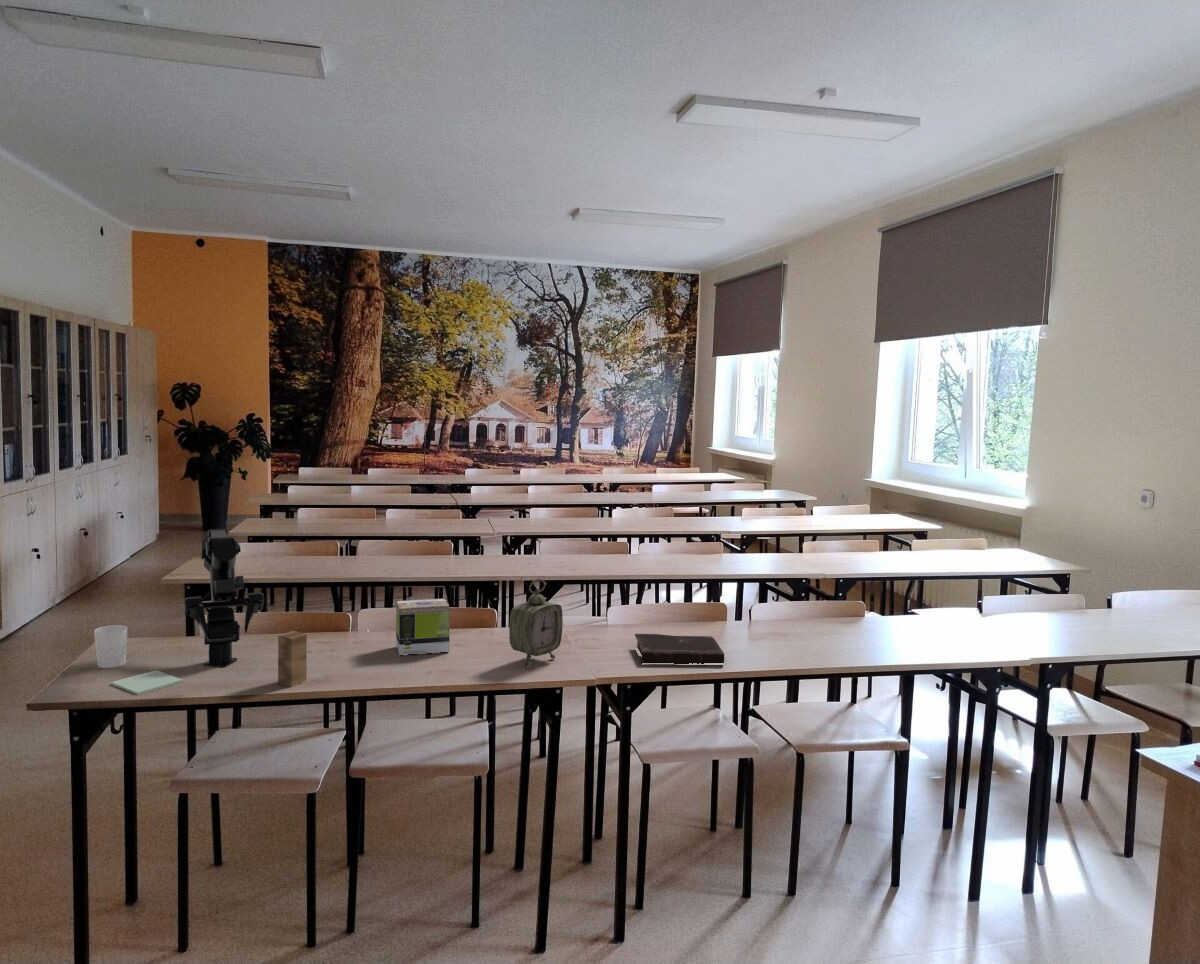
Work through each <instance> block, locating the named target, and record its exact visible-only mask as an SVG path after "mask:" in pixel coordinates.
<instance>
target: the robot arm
mask: <svg viewBox="0 0 1200 964" xmlns="http://www.w3.org/2000/svg"><path fill="white" fill-rule="evenodd" d="M200 541H201V542H200V559H201V560H203V566H204V568H205V569H206V570H207V571H208V572H209V577H210V578H209V580H210V581H209V582H210V594H211V595H210V598H211V600H203V597H202V596H188V597H186V598H184V606H183V607H184V608H183V609H184V616H185V617H189V618H190V619H194V620H195V621H196V622H197V623H198V625H199V626H200V629H201V630H202V633H203V643H204V646H207V645H208V660H207V661H205V662H204V663H203V666H210V667H222V668H223V667H225V668H226V667H228V666H230V665H231V664H233V663H234V662H236V661H238V658H237V657H233V643H238V641H240V633H241V632H240V631H241V625H240V624H239V622H238V620H236V619H235V612H234V609H233V607H245V606H246V609H245V618H244V633H245V634H247V632H248V629H249V626H250V623H251V620H252V618H253V615H254V614H258V613H259V611H263V610H264V605H265V595H264V593H263V592H261V591H260V592H248V593H247V595H246V597H245V598H237V597H238V590H242V589H244V588H245V580H244V575H236V570H235V566H236V561H237V555H238V556H239V553H241V546H240V544H239V543H238V540H235V537H234V536H229V535H228V530H227V529H225V528H215V529H213V528H211V529H208V530H207V535H206V536H204V538H202V539H201V540H200ZM205 609H206V610H207V609H208V611H207V614H206V615H205Z"/></svg>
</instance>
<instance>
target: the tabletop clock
mask: <svg viewBox="0 0 1200 964" xmlns="http://www.w3.org/2000/svg"><path fill="white" fill-rule="evenodd" d="M536 582H542V583H543V586H542V588H541V589H539V588H535V591H533V590H532V586H533V584H534V583H536ZM545 588H546V581H545V580H544V579H542V578H536V579H534V580H533V581H532V582H531V583H530V584H529V588H528V590H529V593H530V594H531V595H530V596H529V598H528V599H527V601H526V602H523V603H520V604H518V605H515V606H514V607H512V609H511V611H510V617H509V626H508V627H509V628H508V629H509V638H508V639H509V644H510V647H511V648H512V650H514V651H516V652H520V653H524V654H526V656H525V658H527V659H528V660H527V659H526V660H527V662H526V664H525V667H526V666H528V667H530V666H531V667H532V662H531V660H530V658H532V656H534V657H538V656H539V657H540V656H543V655H547V654H549V658H550V657H551V658H555V659H556V655H555V654H553V653H552V652H553V651H556V650H557V649H558V648H560V646H561V642H562V635H563V627H564V626H563V625H564V623H563V615H564V614H563V609H562V605H560V604H558V603H553V602H549V601H546V598H545V596H544V595H542V594H541V592H543V591H544V590H545ZM531 667H530V668H531Z"/></svg>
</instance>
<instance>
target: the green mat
mask: <svg viewBox="0 0 1200 964" xmlns="http://www.w3.org/2000/svg"><path fill="white" fill-rule="evenodd" d="M183 681H184V679H182V678H179V677H177V676H174V675H170V674H168V673H165V672H163V671H160V670H151V671H148V672H145V673H141V674H137V675H133V676H130V677H126V678H122V679H118V680H115V681H110V685H111V684H112V685H111V686H114V687H116V686H117V687H116V688H119V689H121V688H122V690H124V689H125V690H124V691H126V690H127V692H129V693H133V694H135V695H142V694H145V693H150V692H153V691H156V690H160V689H163V688H166V687H171V686H173V685H177V684H180V682H181V683H183ZM159 688H160V689H159ZM155 689H156V690H155ZM152 690H153V691H152Z"/></svg>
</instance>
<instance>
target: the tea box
mask: <svg viewBox="0 0 1200 964" xmlns="http://www.w3.org/2000/svg"><path fill="white" fill-rule="evenodd" d="M395 604H396V605H395V609H396V612H395V614H396V615H395V616H396V618H395V619H396V620H395V630H396V631H395V637H396V639H395V643H396V644H395V645H396V648H398V649H397V651H399V652H398V655H399V656H400V655H403V656H405V655H404V654H418V655H427V654H426V653H432V654H441V653H440V652H448V653H450V624H451V623H450V619H451V618H450V611H451V610H450V605H449V604H448V602H447V600H446V599H445V598H427V599H412V600H411V599H410V600H397V601H396V602H395Z"/></svg>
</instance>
